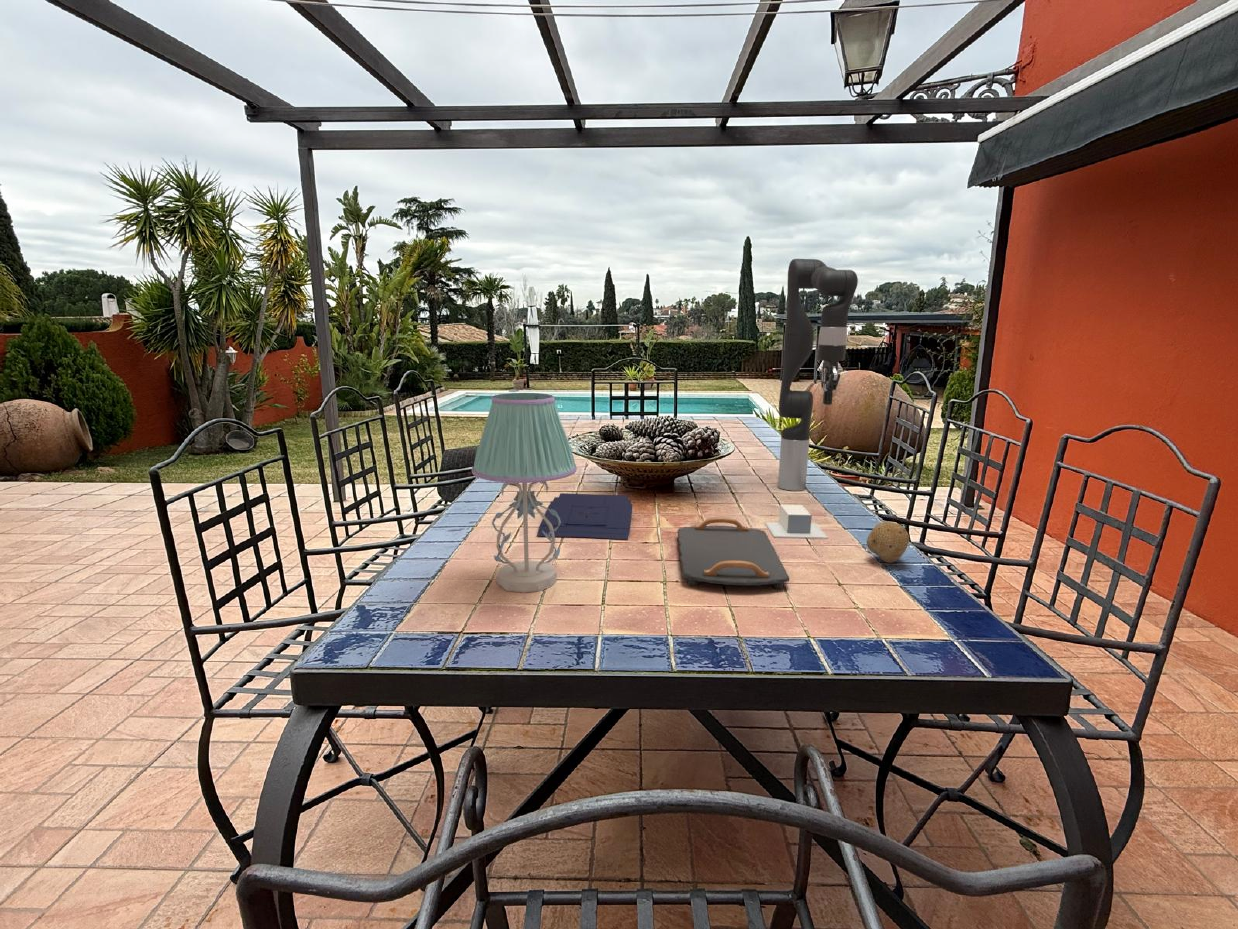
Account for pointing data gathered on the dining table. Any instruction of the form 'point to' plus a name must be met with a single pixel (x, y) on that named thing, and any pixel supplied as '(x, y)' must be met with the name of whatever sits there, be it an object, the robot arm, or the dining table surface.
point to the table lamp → (524, 474)
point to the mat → (780, 532)
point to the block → (795, 519)
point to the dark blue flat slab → (589, 516)
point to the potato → (888, 541)
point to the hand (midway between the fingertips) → (827, 404)
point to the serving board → (729, 555)
